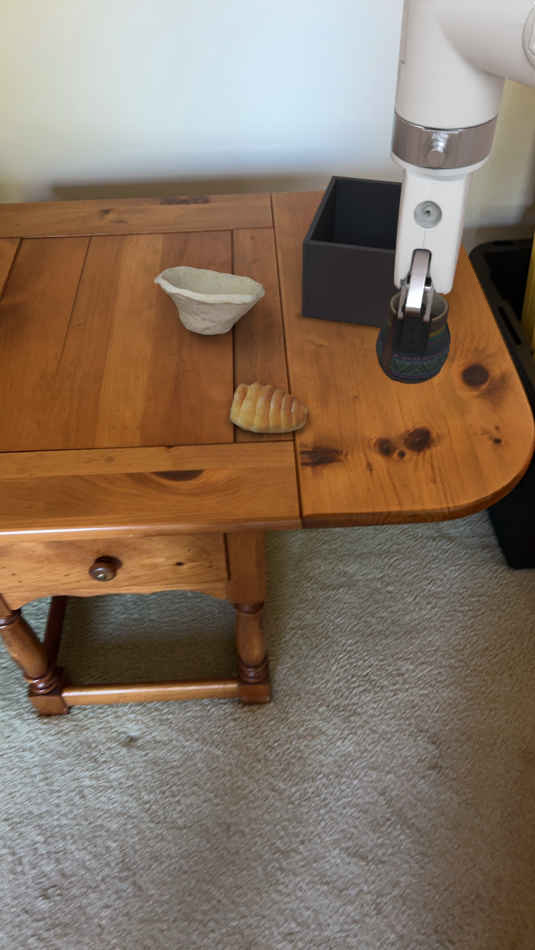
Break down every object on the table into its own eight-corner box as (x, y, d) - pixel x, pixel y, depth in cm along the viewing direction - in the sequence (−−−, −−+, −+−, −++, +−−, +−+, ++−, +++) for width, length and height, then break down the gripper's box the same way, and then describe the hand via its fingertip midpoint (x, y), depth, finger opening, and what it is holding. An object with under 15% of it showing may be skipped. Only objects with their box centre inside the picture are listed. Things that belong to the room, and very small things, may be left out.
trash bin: (432, 259, 103) (445, 186, 94) (417, 332, 92) (430, 257, 83) (329, 247, 107) (332, 175, 98) (301, 316, 95) (302, 242, 86)
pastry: (312, 404, 84) (312, 382, 81) (301, 443, 80) (301, 421, 77) (240, 394, 85) (239, 372, 82) (226, 431, 81) (224, 409, 78)
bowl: (283, 311, 96) (282, 249, 89) (235, 369, 89) (230, 307, 81) (197, 285, 101) (188, 224, 93) (144, 338, 93) (130, 276, 86)
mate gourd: (410, 405, 64) (423, 320, 56) (356, 366, 68) (361, 283, 60) (460, 371, 67) (479, 287, 59) (405, 336, 71) (416, 253, 63)
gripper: (486, 193, 44) (444, 394, 57) (499, 92, 54) (461, 282, 68) (373, 184, 45) (359, 381, 59) (407, 88, 56) (388, 274, 70)
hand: (414, 326), depth 63 cm, fingers closed on mate gourd, 6 cm apart
